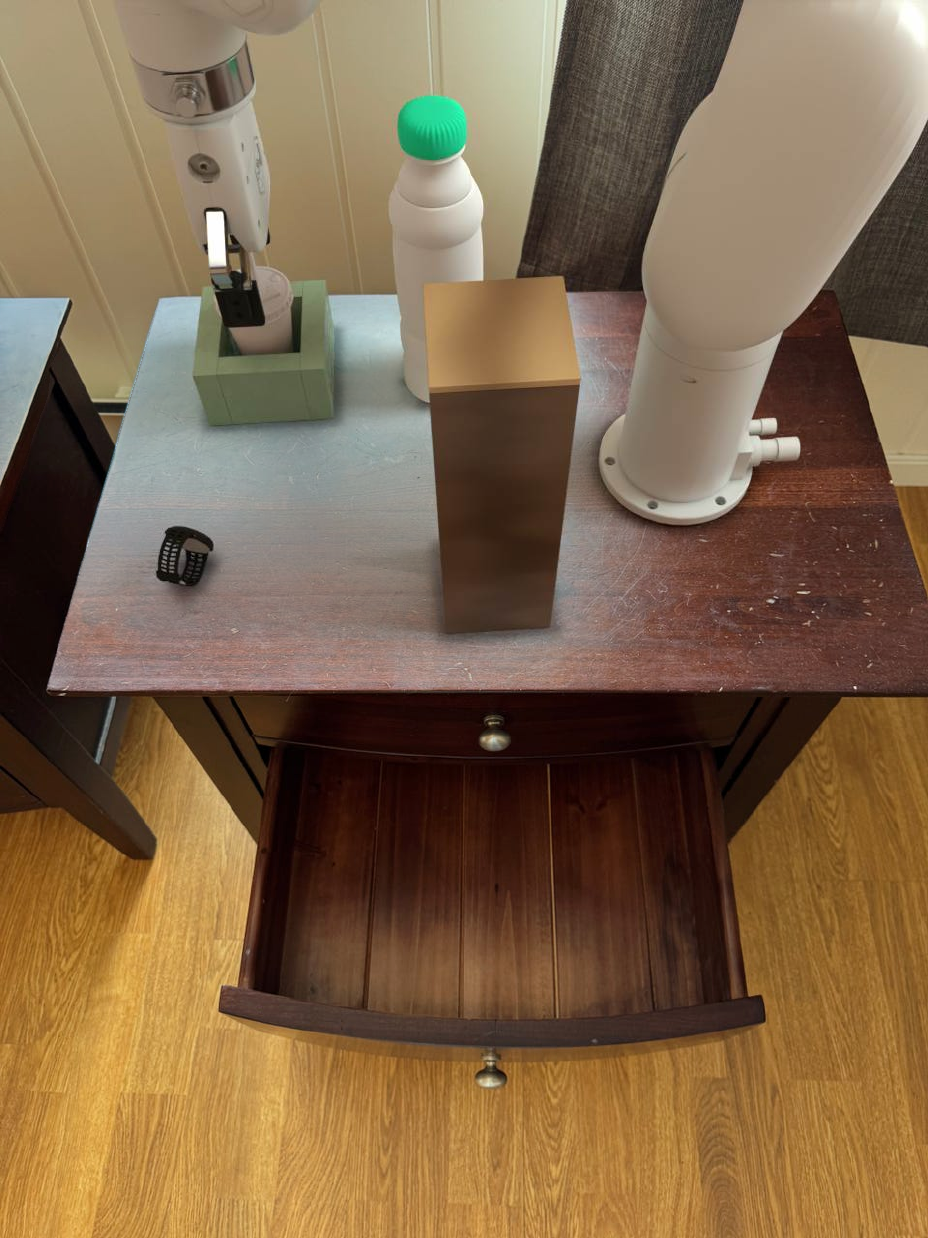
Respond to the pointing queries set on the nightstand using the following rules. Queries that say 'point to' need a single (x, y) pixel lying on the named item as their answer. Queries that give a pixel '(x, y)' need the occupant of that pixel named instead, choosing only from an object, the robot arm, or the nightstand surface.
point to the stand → (268, 365)
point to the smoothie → (267, 315)
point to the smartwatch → (191, 544)
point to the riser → (500, 445)
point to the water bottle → (432, 220)
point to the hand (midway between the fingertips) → (248, 282)
